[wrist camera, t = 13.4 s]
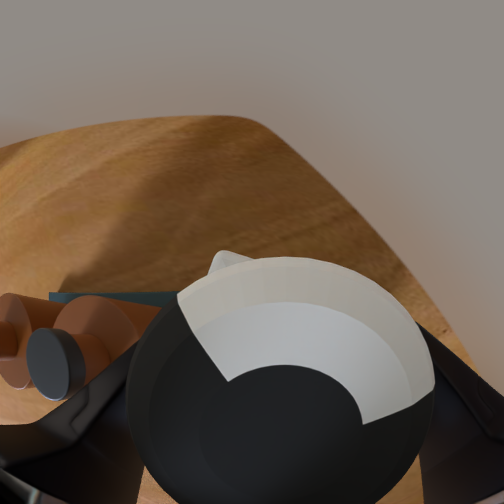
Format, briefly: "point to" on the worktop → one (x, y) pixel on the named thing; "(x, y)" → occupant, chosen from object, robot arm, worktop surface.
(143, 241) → the worktop surface
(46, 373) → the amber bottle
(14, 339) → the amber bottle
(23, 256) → the worktop surface
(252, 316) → the medicine bottle
